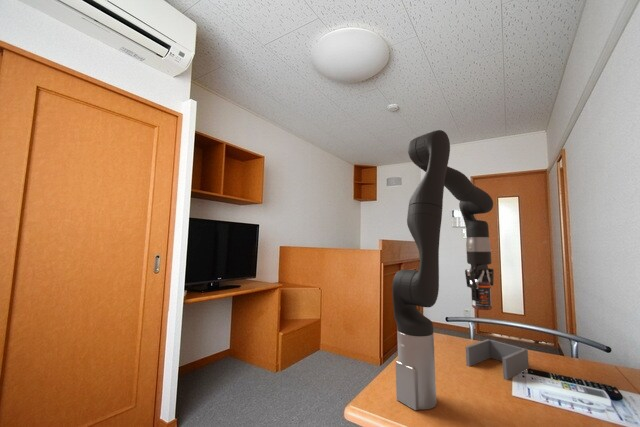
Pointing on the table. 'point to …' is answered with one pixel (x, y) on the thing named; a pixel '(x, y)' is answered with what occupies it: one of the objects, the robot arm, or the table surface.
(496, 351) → the grey u-shaped bracket
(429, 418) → the table surface
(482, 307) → the supplement bottle
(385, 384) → the table surface
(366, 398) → the table surface
